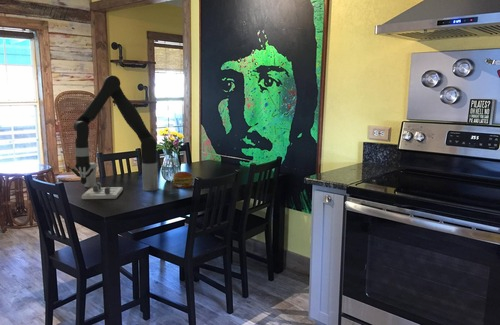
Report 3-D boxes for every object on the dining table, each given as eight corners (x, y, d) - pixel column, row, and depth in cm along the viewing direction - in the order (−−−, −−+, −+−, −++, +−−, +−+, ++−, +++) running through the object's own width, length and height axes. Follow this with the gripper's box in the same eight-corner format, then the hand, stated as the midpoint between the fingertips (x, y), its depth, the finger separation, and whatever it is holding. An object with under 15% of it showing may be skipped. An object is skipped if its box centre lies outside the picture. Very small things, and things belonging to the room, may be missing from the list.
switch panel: (122, 190, 260) (122, 187, 260) (116, 198, 240) (115, 194, 240) (91, 190, 258) (91, 187, 257) (81, 199, 238) (81, 195, 238)
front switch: (110, 192, 245) (110, 186, 244) (109, 193, 242) (108, 187, 241) (105, 192, 245) (105, 186, 244) (104, 193, 242) (104, 187, 241)
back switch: (101, 187, 256) (100, 182, 255) (100, 188, 253) (99, 183, 252) (97, 187, 255) (96, 182, 255) (95, 189, 252) (95, 183, 252)
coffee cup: (81, 188, 264) (79, 165, 262) (83, 184, 273) (81, 162, 271) (97, 187, 267) (96, 164, 264) (98, 184, 276) (97, 161, 273)
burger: (189, 189, 263) (188, 174, 261) (169, 188, 266) (168, 173, 264) (196, 185, 276) (195, 170, 274) (176, 184, 279) (176, 169, 277)
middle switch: (98, 190, 250) (98, 184, 249) (97, 191, 247) (97, 185, 246) (94, 190, 250) (94, 184, 249) (93, 191, 247) (92, 185, 246)
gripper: (95, 154, 248) (97, 182, 251) (72, 153, 247) (74, 182, 250) (92, 156, 241) (93, 185, 244) (68, 155, 240) (70, 185, 243)
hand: (83, 183), depth 247 cm, fingers closed
